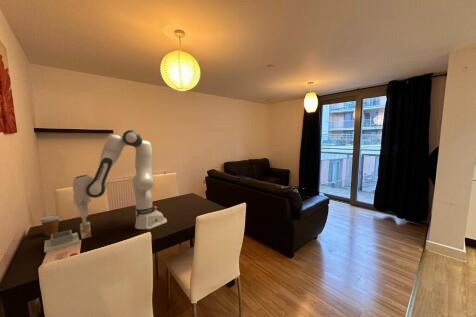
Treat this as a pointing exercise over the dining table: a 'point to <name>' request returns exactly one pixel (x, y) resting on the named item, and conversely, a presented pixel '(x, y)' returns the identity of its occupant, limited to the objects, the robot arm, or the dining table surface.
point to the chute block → (85, 230)
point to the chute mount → (61, 240)
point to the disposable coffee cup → (50, 224)
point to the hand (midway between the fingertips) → (83, 220)
